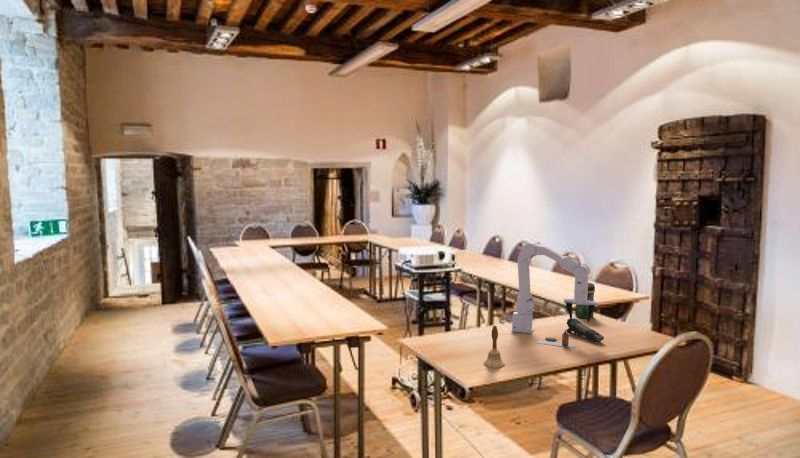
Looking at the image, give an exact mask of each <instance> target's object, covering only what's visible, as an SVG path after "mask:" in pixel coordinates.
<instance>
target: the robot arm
mask: <svg viewBox="0 0 800 458" xmlns="http://www.w3.org/2000/svg"><path fill="white" fill-rule="evenodd" d="M520 248H521V249H520V252H519V254H518V256H517V275H518V295H517V298H516V304H515V310H516V311H513V313H512V317H511V318H512V319H511V331H512V332H514V333H516V332H517V333H524V334H532V333H533V332H534V331H535V328H533V319H534V318H533V317H534V316H533V314H534V312H533V310H534V309H535V306H536V303H535V301H534V297H533V294H532V293H531V280H530V279H531V277H530V276H531V275H530V261H531V260H532V259H533V258H534V257H536V256H545V257H548V258H549V259H551V260H552V261H555V262H556V263H559V267H561V268H562V269H564V270H566V271H567V272H569V273H572V274H573V276H574V293H573V294H574V295H573V298H564V299H563V304H564V305H565V307H566V310H567V312H568V315H569V319H570V320H572V319H573V305H576V304H577V305H587V306H589V307H588V318H587V323H590V321H591V320H590V319H591V318H592V317H591V314H592V312H593V310H594V311H595V308H597V307H598V301H595V300H594V301H589V300H587V295H588V283H589V275H590V273H591V269H590V267H589V266H588V265H587V264H586V263H582V262H580V261H576V260H575V259H573V257H572V256H571V255H565V256H563V255H561V254H559V253H558V252H556V251H554V250H553V249H552V248H550V247H549V246H546V245H545V244H544V243H541V242H540V241H536V240H535V241H533V242H532V241H531V242H528V243H525V244H524V245H523V246H521V247H520ZM590 317H591V318H590Z"/></svg>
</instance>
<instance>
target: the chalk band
mask: <svg viewBox="0 0 800 458" xmlns="http://www.w3.org/2000/svg"><path fill="white" fill-rule="evenodd" d="M536 344H538V345H539V344H541V345H542V344H543V345H549V346H557V347H561V348H562V347H563V348H570V349H575V347H576V345H575V344H569V343H568V346H563V345H562V342H561V343H560V342H555V341H547V340H537V342H536Z"/></svg>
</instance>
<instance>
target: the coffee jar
mask: <svg viewBox="0 0 800 458" xmlns="http://www.w3.org/2000/svg"><path fill="white" fill-rule="evenodd" d="M595 292H596V286H595V284H594V283H592V282H588V295H587V300H589V301H595V300H594V297H595V296H594V295H595ZM588 307H589V306H587V305H577V304H575V312H574V313H575V314H574V316H575V317H577V318H579V319H588ZM594 313H595V309H594V310H593V312H592V314H591V317H590V319H592V318H593V317H594V315H595V314H594Z"/></svg>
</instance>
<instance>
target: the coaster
mask: <svg viewBox="0 0 800 458" xmlns="http://www.w3.org/2000/svg"><path fill="white" fill-rule="evenodd" d="M545 341H547V342H557V341H558V339H557V338H555V337H546V338H545Z"/></svg>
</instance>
